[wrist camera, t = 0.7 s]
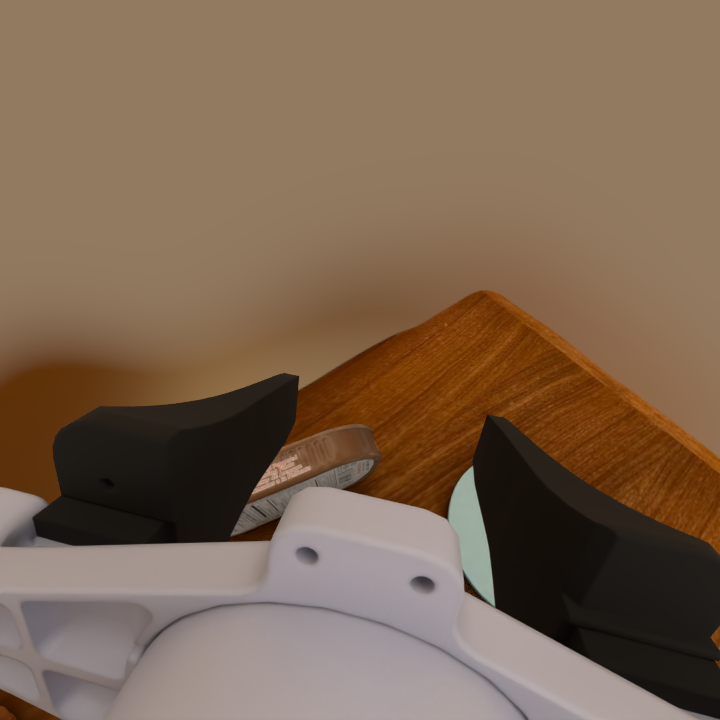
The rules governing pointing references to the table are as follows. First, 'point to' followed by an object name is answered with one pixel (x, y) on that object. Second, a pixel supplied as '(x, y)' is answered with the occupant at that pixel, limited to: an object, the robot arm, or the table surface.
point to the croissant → (6, 714)
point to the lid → (471, 536)
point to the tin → (311, 471)
